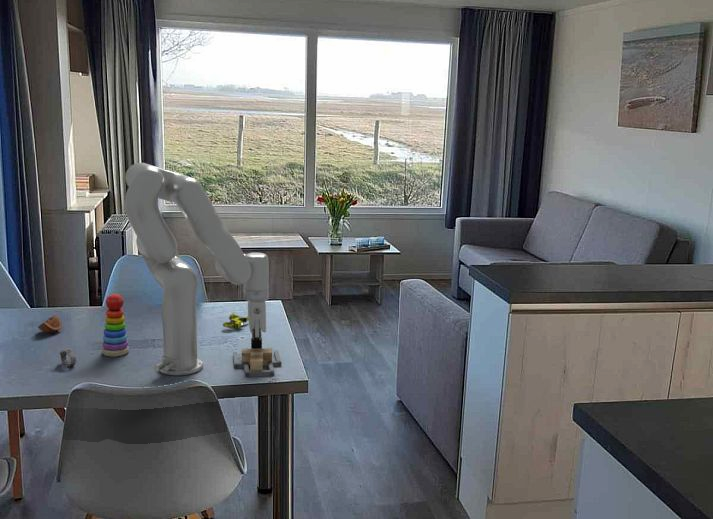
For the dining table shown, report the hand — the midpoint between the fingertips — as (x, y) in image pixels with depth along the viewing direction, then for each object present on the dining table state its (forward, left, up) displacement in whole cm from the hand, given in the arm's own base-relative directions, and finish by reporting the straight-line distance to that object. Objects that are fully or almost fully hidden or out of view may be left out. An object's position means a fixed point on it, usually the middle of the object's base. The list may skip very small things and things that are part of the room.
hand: (256, 350), depth 212 cm
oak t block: (-8, -5, -2) cm, 10 cm away
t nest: (-7, -5, -2) cm, 9 cm away
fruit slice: (-13, +71, -2) cm, 73 cm away
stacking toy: (-18, +39, -2) cm, 43 cm away
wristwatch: (-32, +44, -2) cm, 55 cm away
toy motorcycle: (+22, +21, -2) cm, 31 cm away
